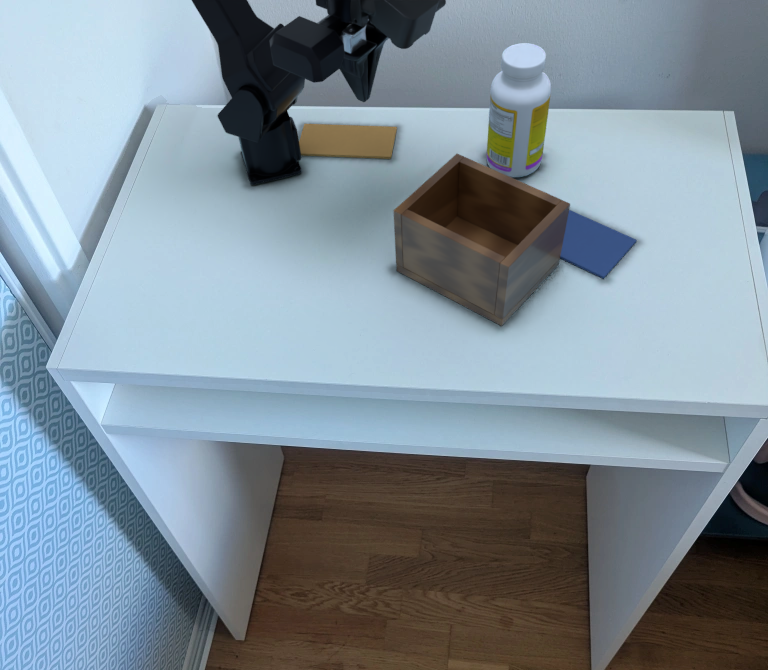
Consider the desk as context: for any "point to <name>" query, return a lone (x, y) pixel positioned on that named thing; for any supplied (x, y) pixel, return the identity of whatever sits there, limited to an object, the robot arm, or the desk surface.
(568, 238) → the blue cloth
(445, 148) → the desk surface
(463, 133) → the desk surface
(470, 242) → the crate
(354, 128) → the tan cloth
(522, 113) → the supplement bottle
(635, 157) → the desk surface
